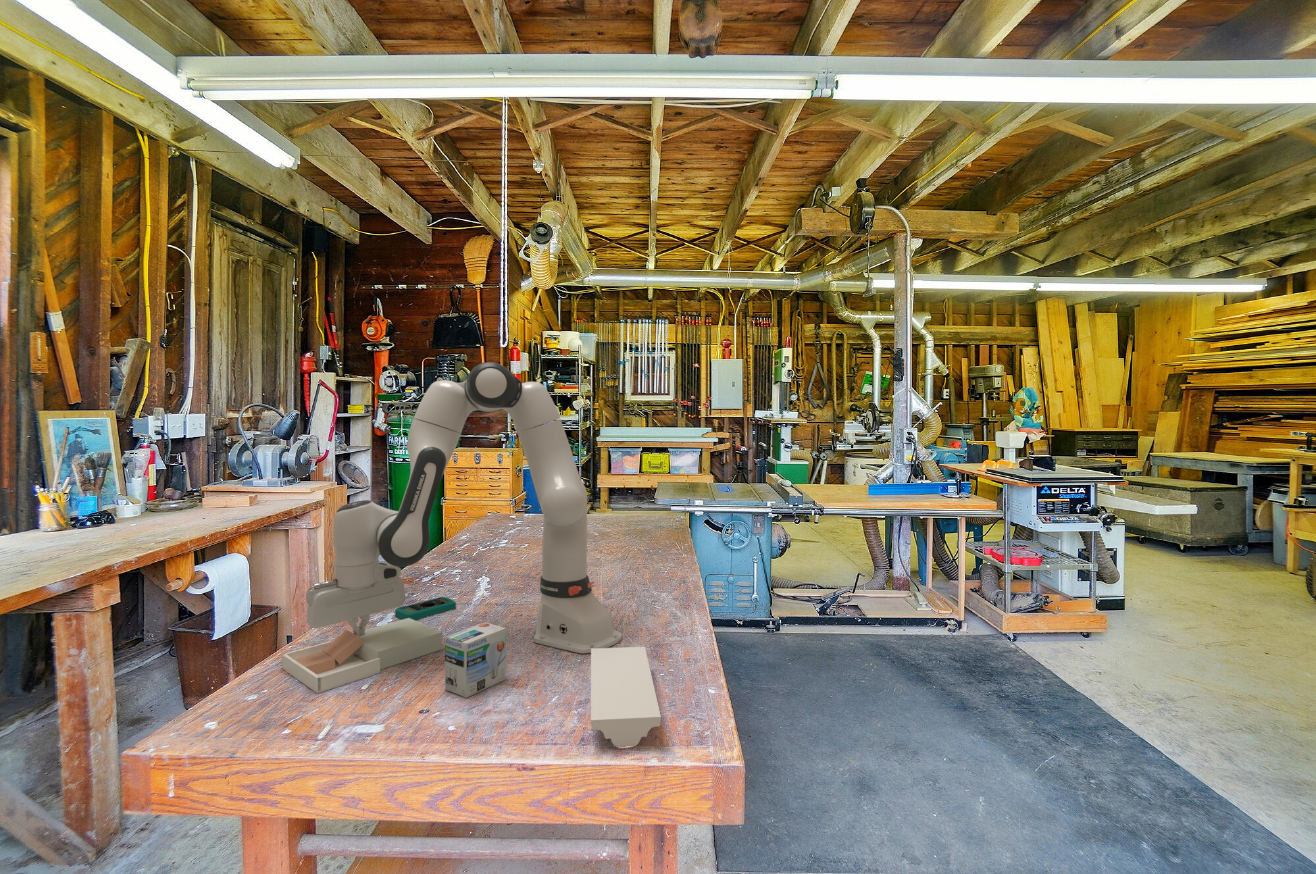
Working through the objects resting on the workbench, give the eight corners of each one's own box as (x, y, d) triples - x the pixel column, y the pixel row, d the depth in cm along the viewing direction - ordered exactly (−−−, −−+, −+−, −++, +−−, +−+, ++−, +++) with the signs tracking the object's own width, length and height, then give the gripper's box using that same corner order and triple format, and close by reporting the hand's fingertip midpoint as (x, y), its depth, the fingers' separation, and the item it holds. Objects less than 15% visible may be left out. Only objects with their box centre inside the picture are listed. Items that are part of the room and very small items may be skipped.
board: (442, 649, 138) (442, 632, 138) (378, 670, 127) (378, 651, 127) (408, 633, 148) (408, 617, 148) (346, 652, 136) (346, 634, 136)
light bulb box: (466, 699, 114) (466, 643, 114) (443, 690, 118) (443, 636, 117) (507, 678, 123) (507, 627, 123) (485, 671, 127) (485, 621, 127)
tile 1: (303, 667, 121) (304, 678, 121) (335, 658, 126) (335, 668, 126) (292, 659, 125) (292, 670, 125) (323, 651, 130) (323, 661, 130)
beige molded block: (590, 751, 97) (590, 720, 97) (590, 672, 127) (591, 648, 127) (660, 748, 98) (660, 716, 98) (644, 670, 128) (644, 646, 128)
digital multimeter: (458, 610, 167) (458, 599, 167) (408, 624, 156) (408, 613, 156) (443, 605, 172) (443, 594, 172) (393, 618, 160) (393, 607, 160)
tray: (380, 672, 125) (380, 658, 125) (317, 693, 116) (317, 678, 116) (341, 650, 137) (341, 638, 137) (282, 668, 127) (281, 654, 127)
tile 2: (363, 643, 131) (358, 636, 130) (339, 664, 127) (333, 657, 126) (351, 636, 135) (346, 629, 134) (327, 657, 131) (322, 650, 130)
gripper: (312, 588, 122) (314, 654, 123) (407, 567, 138) (409, 626, 139) (300, 582, 126) (302, 647, 127) (394, 563, 142) (396, 620, 143)
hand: (359, 635), depth 133 cm, fingers closed
